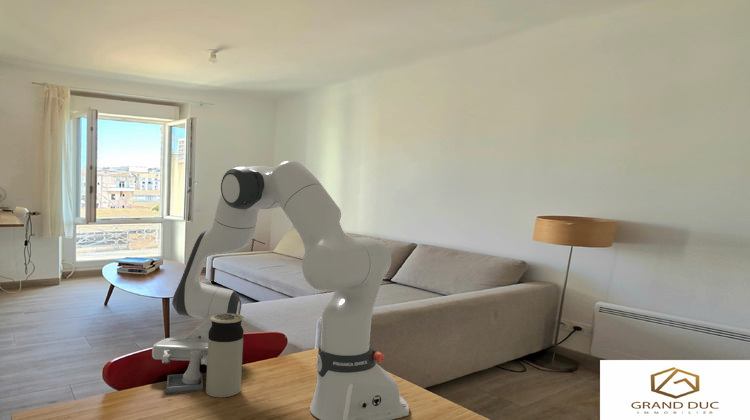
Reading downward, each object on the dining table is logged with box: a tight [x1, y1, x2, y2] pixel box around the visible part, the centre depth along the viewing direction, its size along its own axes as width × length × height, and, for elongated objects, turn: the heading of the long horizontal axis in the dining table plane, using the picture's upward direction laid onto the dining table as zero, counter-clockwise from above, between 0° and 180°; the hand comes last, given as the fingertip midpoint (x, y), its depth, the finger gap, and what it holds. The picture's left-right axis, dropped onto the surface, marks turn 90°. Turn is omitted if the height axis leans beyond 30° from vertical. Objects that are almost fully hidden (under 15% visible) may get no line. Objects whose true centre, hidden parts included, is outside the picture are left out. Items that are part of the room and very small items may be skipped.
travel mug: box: [205, 313, 244, 399], centre depth 115 cm, size 8×8×18 cm
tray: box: [166, 372, 204, 395], centre depth 117 cm, size 8×8×2 cm
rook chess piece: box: [182, 348, 204, 385], centre depth 117 cm, size 4×4×8 cm
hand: (184, 361), depth 116 cm, fingers open, 8 cm apart
